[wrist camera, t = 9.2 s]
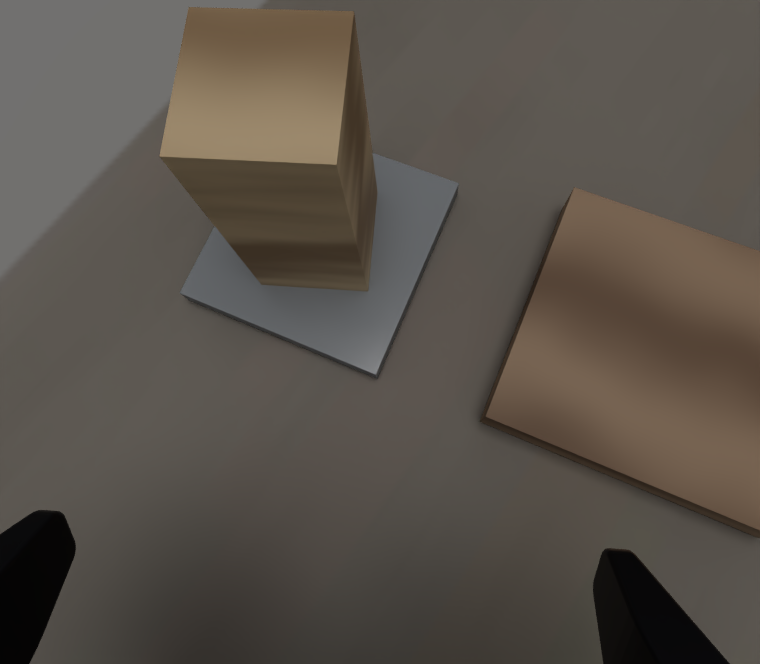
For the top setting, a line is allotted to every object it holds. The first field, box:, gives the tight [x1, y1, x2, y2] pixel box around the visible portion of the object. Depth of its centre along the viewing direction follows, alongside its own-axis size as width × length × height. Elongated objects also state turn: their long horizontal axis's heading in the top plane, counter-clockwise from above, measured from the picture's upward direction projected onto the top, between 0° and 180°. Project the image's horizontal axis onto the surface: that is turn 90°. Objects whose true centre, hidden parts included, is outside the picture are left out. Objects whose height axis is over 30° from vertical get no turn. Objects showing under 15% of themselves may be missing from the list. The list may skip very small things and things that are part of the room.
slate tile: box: [180, 153, 459, 379], centre depth 25 cm, size 9×9×1 cm
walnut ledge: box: [480, 187, 760, 538], centre depth 23 cm, size 10×11×2 cm
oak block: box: [160, 7, 378, 291], centre depth 20 cm, size 4×4×10 cm
